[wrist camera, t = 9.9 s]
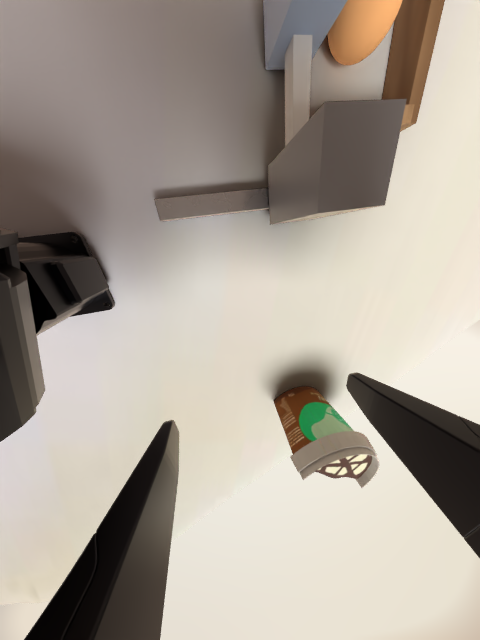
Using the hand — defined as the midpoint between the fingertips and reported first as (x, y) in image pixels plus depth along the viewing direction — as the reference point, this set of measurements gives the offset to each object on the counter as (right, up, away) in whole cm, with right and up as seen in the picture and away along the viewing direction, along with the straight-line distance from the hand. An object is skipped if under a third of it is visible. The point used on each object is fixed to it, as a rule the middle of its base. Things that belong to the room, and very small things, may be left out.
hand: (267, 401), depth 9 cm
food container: (+9, -8, +20) cm, 23 cm away
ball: (+6, +23, +2) cm, 24 cm away
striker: (+2, +19, +5) cm, 20 cm away
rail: (-1, +14, +7) cm, 16 cm away
